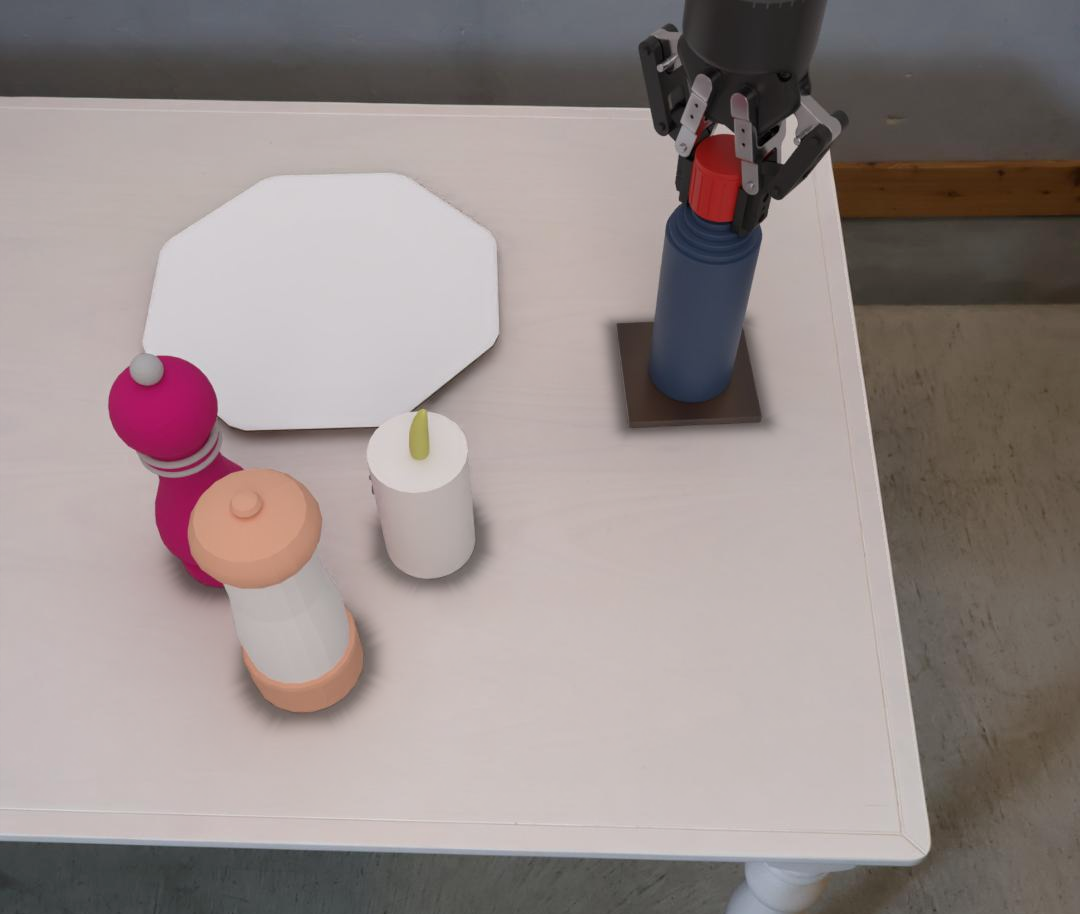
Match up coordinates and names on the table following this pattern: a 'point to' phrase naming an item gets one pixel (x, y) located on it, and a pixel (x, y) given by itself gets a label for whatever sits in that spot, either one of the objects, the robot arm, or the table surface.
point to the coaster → (661, 410)
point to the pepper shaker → (278, 587)
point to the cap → (715, 178)
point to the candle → (423, 493)
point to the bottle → (700, 305)
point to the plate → (326, 300)
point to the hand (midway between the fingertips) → (717, 211)
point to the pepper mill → (172, 441)
